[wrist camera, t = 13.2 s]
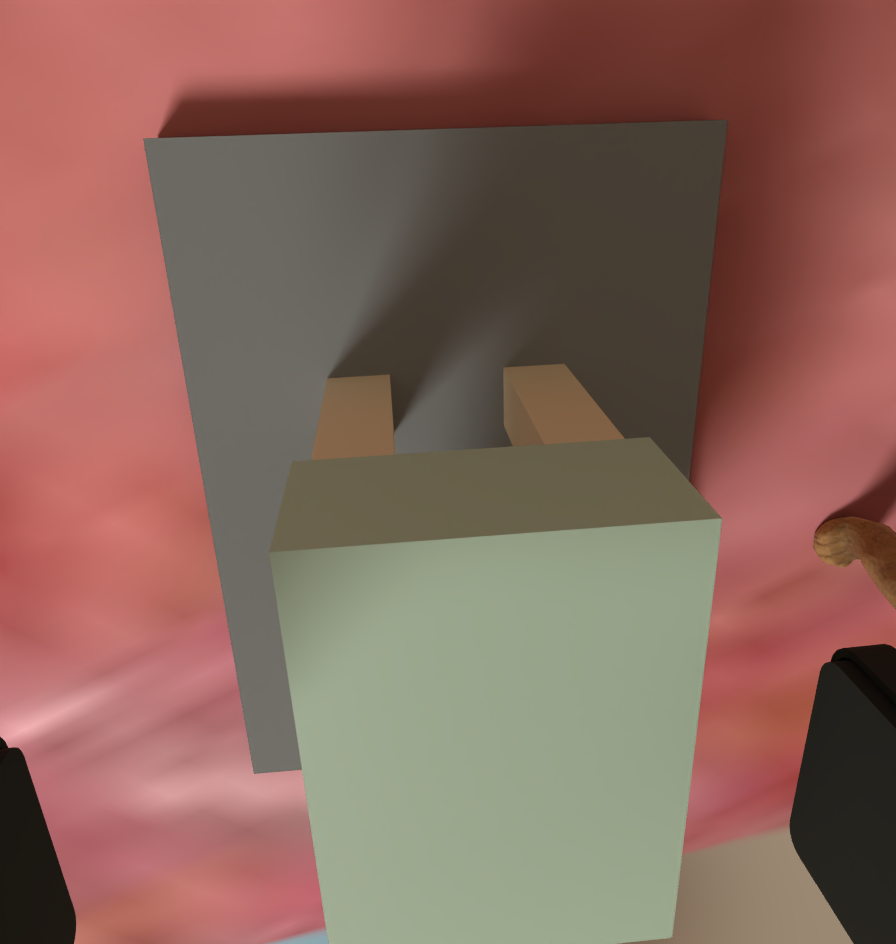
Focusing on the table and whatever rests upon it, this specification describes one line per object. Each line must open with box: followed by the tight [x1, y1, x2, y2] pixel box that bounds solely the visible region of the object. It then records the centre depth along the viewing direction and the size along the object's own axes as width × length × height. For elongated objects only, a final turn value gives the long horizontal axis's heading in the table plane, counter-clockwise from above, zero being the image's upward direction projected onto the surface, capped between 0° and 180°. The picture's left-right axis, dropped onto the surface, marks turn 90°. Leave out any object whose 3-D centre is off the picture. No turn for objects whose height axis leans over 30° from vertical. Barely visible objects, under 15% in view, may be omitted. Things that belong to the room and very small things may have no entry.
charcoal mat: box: [143, 120, 728, 774], centre depth 16 cm, size 10×14×1 cm
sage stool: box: [269, 364, 722, 944], centre depth 13 cm, size 7×5×7 cm
